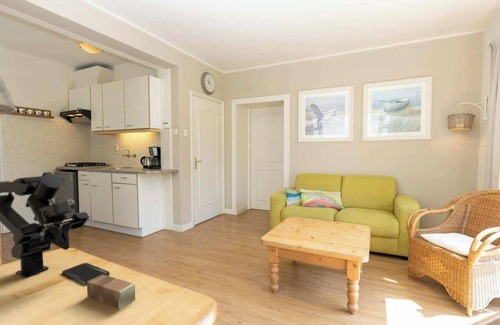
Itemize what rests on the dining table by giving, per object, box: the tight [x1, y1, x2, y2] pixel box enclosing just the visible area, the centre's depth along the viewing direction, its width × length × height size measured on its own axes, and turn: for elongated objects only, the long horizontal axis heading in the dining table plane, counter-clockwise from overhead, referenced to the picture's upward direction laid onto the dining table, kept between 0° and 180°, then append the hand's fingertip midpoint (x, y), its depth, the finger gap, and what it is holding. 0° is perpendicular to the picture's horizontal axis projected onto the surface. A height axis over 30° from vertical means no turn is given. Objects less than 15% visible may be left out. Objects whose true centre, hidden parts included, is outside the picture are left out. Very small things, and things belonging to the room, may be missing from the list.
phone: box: [61, 262, 111, 286], centre depth 83 cm, size 8×1×15 cm
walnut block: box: [86, 274, 136, 310], centre depth 69 cm, size 4×4×13 cm
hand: (67, 248), depth 76 cm, fingers closed
